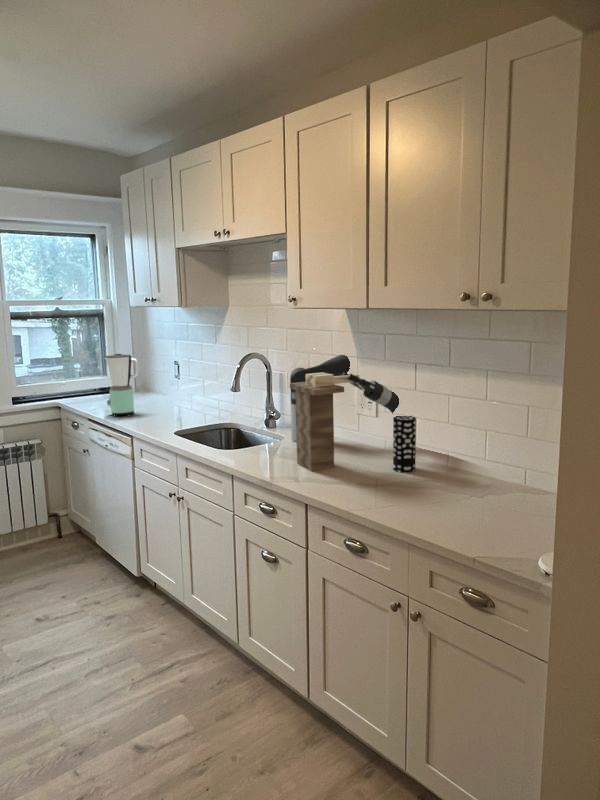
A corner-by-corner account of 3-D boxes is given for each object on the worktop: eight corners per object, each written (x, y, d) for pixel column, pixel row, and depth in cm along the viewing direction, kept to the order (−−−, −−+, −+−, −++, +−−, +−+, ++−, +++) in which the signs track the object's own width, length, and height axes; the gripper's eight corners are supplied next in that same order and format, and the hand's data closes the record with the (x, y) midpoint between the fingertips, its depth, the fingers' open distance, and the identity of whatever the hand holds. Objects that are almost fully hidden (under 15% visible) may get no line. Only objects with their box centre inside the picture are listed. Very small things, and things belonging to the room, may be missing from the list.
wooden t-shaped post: (291, 461, 241) (289, 383, 236) (319, 456, 247) (318, 380, 241) (315, 474, 224) (313, 390, 218) (345, 469, 230) (344, 386, 224)
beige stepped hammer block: (305, 384, 232) (305, 374, 231) (351, 379, 241) (351, 369, 241) (315, 386, 225) (315, 376, 224) (362, 382, 234) (362, 371, 234)
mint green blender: (105, 417, 338) (100, 355, 332) (110, 412, 352) (106, 353, 345) (139, 416, 340) (135, 354, 334) (143, 411, 353) (139, 352, 347)
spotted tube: (409, 473, 222) (409, 421, 218) (389, 470, 227) (389, 418, 223) (419, 468, 228) (419, 417, 225) (399, 465, 233) (399, 414, 230)
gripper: (371, 382, 250) (340, 365, 242) (391, 387, 237) (360, 368, 229) (364, 398, 249) (333, 381, 241) (383, 404, 237) (351, 386, 229)
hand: (346, 375), depth 235 cm, fingers open, 4 cm apart
